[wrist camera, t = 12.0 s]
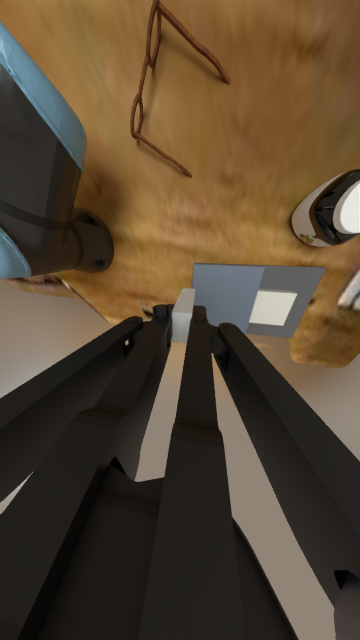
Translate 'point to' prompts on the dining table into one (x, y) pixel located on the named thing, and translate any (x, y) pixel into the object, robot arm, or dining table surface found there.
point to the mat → (288, 280)
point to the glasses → (148, 61)
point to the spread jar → (330, 212)
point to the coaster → (272, 306)
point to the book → (227, 291)
